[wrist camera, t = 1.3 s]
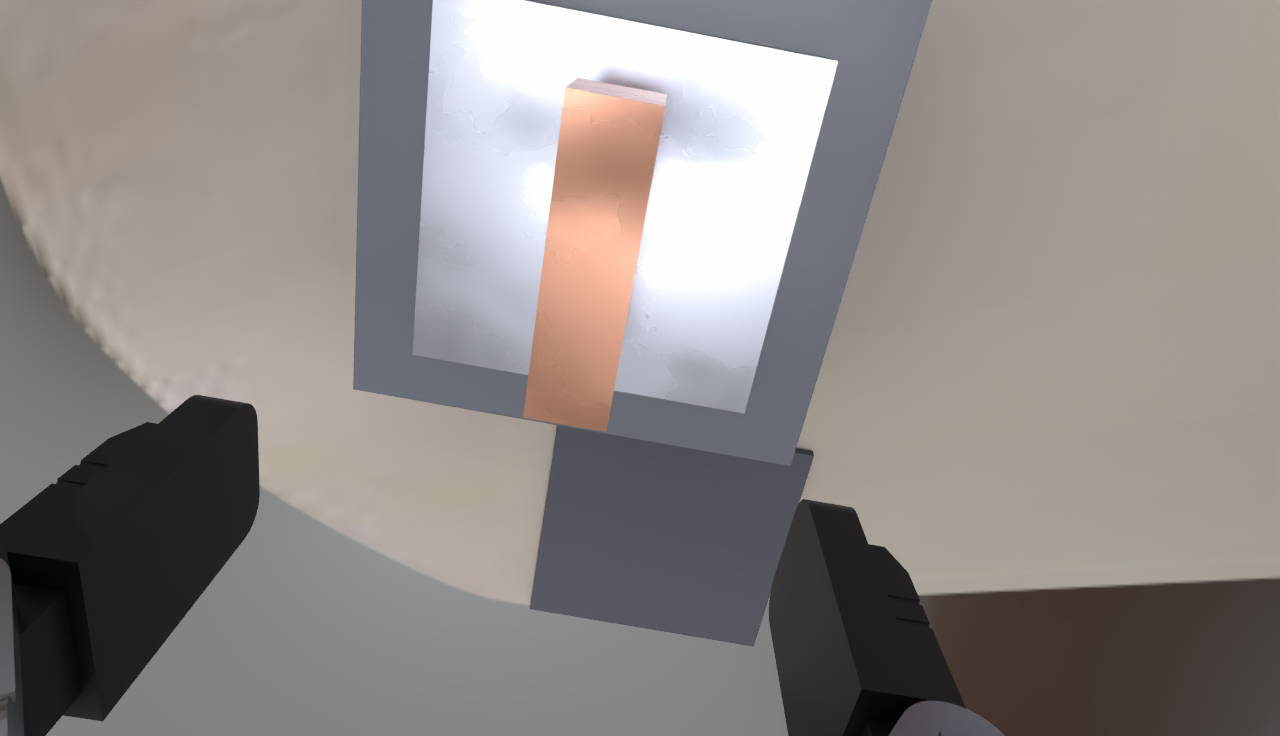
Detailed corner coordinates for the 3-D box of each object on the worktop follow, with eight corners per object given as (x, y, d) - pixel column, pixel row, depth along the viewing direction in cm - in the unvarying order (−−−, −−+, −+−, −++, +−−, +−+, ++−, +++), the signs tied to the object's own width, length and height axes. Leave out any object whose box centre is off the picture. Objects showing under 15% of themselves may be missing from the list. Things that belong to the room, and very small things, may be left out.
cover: (817, 53, 27) (882, 77, 18) (737, 368, 32) (758, 503, 23) (465, -15, 26) (363, -23, 18) (441, 315, 31) (353, 433, 23)
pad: (812, 451, 37) (813, 455, 37) (752, 640, 42) (753, 646, 42) (560, 406, 37) (559, 410, 36) (531, 603, 42) (529, 608, 41)
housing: (887, -12, 29) (936, -15, 23) (773, 395, 36) (790, 465, 31) (425, -103, 28) (365, -128, 23) (403, 329, 35) (353, 389, 30)
